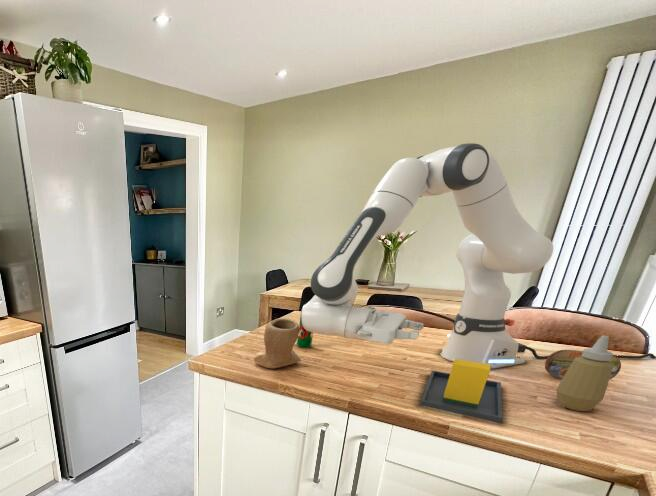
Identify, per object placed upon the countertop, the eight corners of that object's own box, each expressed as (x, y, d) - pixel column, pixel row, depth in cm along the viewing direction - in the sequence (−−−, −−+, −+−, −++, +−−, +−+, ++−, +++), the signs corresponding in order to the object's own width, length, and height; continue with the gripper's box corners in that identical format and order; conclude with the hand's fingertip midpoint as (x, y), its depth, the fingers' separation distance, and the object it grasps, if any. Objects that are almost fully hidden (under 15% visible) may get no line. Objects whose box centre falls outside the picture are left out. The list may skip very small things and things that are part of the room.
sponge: (443, 394, 104) (454, 358, 100) (477, 401, 100) (490, 364, 96) (442, 400, 101) (453, 363, 97) (477, 407, 97) (490, 369, 93)
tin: (543, 377, 115) (554, 349, 111) (538, 373, 117) (549, 346, 114) (614, 384, 109) (628, 355, 106) (607, 380, 112) (620, 352, 108)
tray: (430, 376, 117) (431, 370, 117) (498, 388, 108) (500, 382, 108) (419, 407, 99) (420, 400, 99) (500, 425, 90) (502, 418, 89)
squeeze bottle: (541, 400, 101) (570, 332, 94) (570, 398, 102) (601, 330, 94) (576, 415, 94) (609, 342, 87) (607, 413, 94) (643, 340, 87)
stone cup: (273, 374, 121) (278, 327, 115) (248, 363, 131) (252, 318, 125) (310, 366, 127) (317, 320, 121) (283, 355, 137) (289, 312, 131)
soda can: (312, 348, 143) (317, 315, 139) (297, 348, 144) (302, 315, 139) (309, 344, 148) (314, 312, 143) (295, 343, 149) (299, 312, 144)
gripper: (353, 320, 101) (418, 328, 93) (371, 305, 115) (428, 311, 107) (349, 344, 103) (412, 354, 95) (367, 326, 118) (422, 333, 110)
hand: (420, 331), depth 101 cm, fingers open, 8 cm apart
